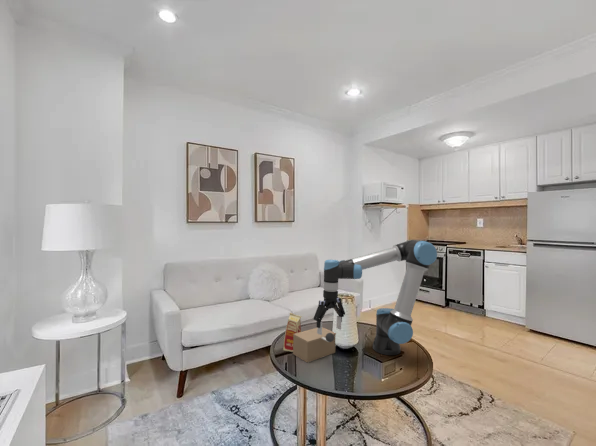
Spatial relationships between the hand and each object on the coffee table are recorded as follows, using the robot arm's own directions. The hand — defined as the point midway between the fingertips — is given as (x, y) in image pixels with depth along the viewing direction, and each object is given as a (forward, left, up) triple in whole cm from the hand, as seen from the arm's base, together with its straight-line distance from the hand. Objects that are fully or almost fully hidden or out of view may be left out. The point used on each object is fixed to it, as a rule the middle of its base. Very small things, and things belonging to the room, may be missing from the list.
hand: (329, 331), depth 150 cm
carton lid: (+8, 0, -6) cm, 10 cm away
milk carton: (+24, +5, -16) cm, 29 cm away
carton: (+12, 0, -16) cm, 20 cm away
